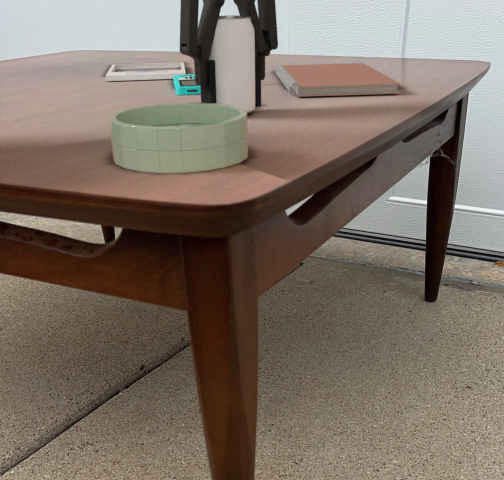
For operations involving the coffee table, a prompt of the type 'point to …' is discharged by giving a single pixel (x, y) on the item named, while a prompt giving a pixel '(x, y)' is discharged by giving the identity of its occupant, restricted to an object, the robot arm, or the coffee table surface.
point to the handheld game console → (186, 84)
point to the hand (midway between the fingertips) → (231, 107)
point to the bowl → (179, 137)
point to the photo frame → (144, 74)
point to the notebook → (335, 80)
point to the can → (234, 62)
